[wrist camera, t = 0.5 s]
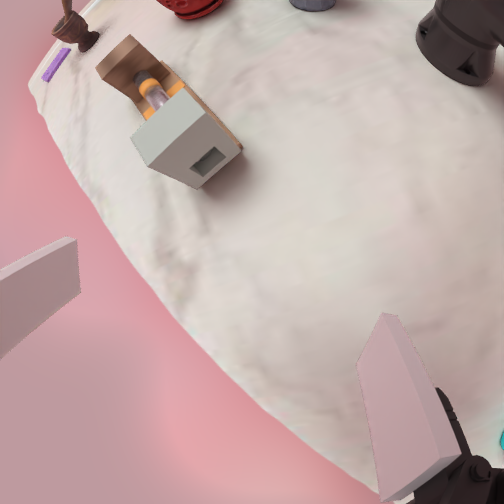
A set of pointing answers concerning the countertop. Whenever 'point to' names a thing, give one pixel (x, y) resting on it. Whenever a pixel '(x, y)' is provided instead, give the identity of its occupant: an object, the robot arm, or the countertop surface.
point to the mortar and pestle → (74, 29)
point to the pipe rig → (146, 80)
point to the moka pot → (313, 4)
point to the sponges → (55, 64)
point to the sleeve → (184, 141)
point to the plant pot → (190, 7)
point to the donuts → (502, 441)
